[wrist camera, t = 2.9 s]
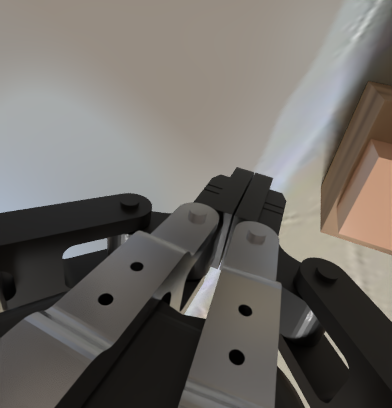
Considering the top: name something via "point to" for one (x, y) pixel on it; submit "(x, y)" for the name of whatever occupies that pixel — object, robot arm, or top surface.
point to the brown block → (356, 153)
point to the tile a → (369, 198)
